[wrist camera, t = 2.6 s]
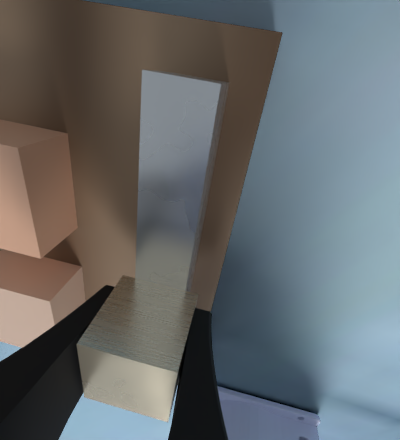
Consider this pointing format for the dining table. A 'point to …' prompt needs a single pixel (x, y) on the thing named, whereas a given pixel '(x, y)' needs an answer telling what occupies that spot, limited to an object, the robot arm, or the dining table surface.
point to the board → (128, 116)
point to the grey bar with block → (158, 250)
